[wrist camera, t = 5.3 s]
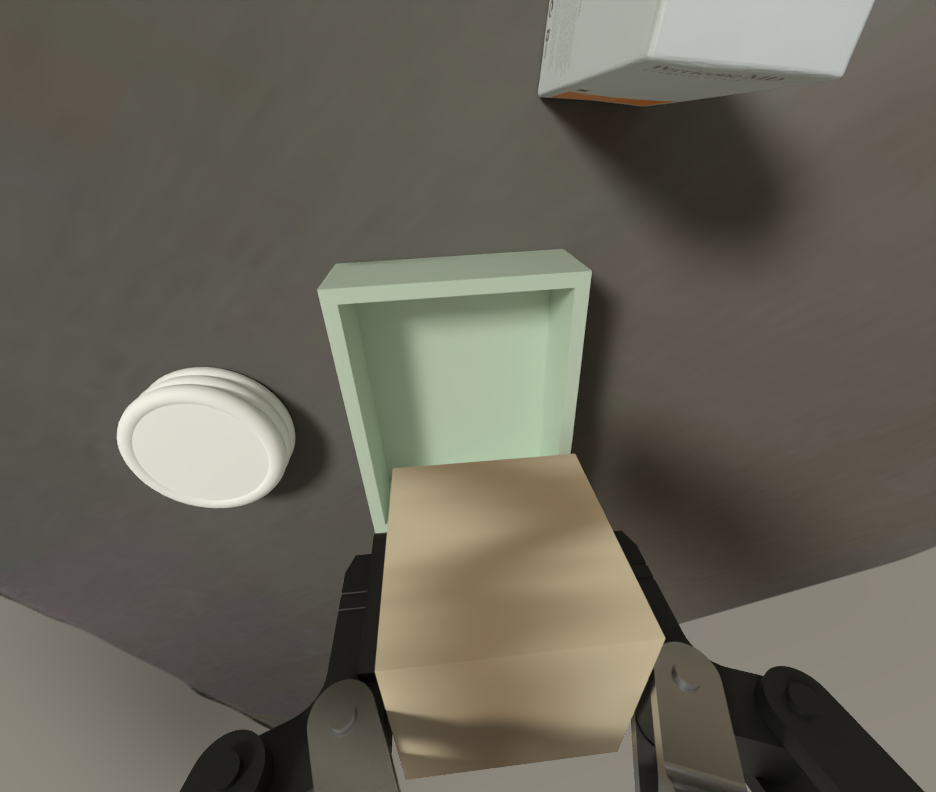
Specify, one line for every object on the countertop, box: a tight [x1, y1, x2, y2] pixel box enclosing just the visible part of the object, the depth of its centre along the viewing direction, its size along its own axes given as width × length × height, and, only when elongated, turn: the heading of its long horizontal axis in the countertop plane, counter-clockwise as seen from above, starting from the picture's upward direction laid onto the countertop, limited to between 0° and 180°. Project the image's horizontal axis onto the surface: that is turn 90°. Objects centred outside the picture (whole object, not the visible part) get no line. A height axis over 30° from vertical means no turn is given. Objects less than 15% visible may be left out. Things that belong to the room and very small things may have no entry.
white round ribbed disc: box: [117, 367, 295, 508], centre depth 28 cm, size 10×10×4 cm
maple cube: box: [375, 454, 666, 780], centre depth 10 cm, size 5×5×5 cm
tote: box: [317, 249, 592, 533], centre depth 27 cm, size 14×18×5 cm
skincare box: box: [538, 0, 875, 107], centre depth 15 cm, size 6×4×12 cm
